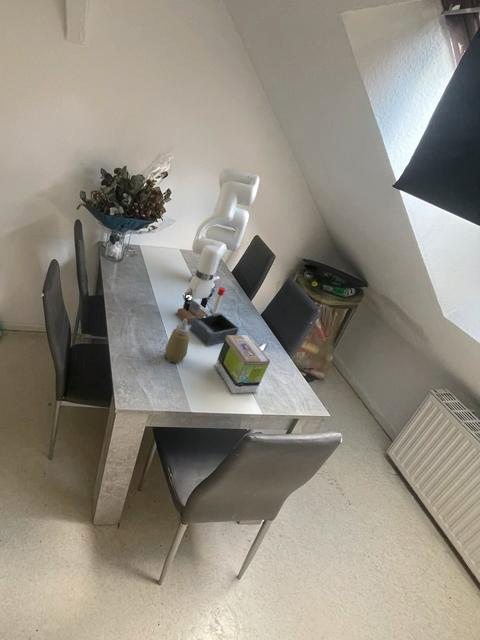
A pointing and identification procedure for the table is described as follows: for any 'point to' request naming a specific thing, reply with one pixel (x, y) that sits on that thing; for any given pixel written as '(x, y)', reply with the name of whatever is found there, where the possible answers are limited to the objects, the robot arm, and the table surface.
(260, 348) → the unicorn horn
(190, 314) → the tap block
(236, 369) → the tea box
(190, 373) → the table surface
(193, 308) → the tap handle
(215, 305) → the marker
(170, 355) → the squeeze bottle
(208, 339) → the sink basin
